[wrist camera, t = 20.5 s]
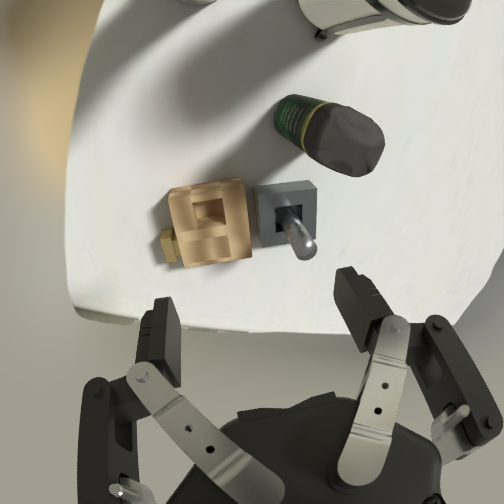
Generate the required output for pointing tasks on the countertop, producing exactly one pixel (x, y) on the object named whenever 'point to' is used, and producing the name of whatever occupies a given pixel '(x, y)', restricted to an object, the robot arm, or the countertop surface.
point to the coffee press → (379, 14)
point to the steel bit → (296, 233)
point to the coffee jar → (331, 134)
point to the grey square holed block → (281, 195)
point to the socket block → (211, 222)
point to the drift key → (170, 245)
